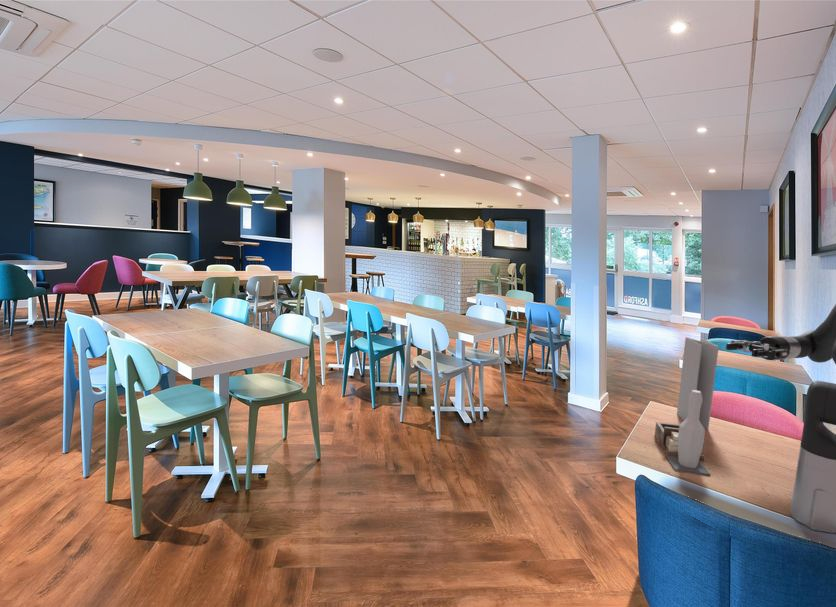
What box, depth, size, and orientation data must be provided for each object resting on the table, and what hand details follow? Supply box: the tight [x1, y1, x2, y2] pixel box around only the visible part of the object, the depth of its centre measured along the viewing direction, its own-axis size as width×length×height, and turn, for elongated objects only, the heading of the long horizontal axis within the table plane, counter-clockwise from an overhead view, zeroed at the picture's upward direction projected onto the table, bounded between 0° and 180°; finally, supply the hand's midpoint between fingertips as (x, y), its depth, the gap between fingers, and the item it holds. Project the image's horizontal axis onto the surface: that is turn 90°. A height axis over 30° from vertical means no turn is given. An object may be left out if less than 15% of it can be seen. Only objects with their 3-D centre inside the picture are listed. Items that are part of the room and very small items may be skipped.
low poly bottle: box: [678, 390, 706, 468], centre depth 130 cm, size 6×6×22 cm
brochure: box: [676, 336, 719, 431], centre depth 164 cm, size 14×6×30 cm, turn 168°
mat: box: [665, 454, 711, 477], centre depth 132 cm, size 9×9×1 cm
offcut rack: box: [654, 421, 706, 462], centre depth 143 cm, size 15×10×7 cm, turn 166°
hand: (739, 349), depth 141 cm, fingers open, 8 cm apart
